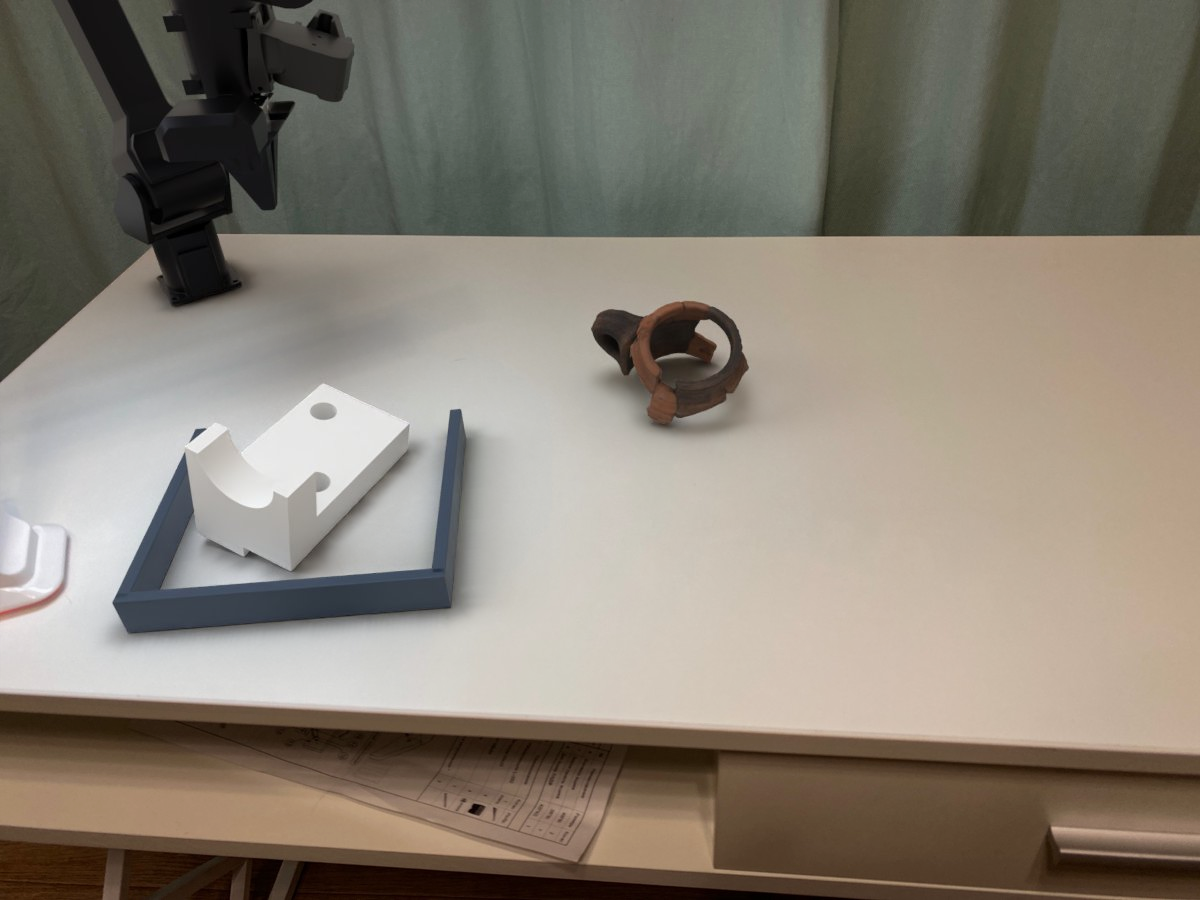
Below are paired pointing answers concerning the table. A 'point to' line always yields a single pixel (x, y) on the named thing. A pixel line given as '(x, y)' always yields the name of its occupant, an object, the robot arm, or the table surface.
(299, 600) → the open blue frame
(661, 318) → the pottery mug
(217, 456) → the bracket
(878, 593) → the table surface
